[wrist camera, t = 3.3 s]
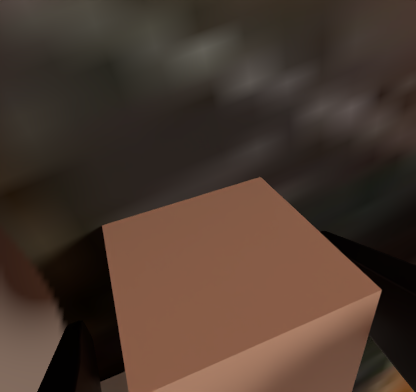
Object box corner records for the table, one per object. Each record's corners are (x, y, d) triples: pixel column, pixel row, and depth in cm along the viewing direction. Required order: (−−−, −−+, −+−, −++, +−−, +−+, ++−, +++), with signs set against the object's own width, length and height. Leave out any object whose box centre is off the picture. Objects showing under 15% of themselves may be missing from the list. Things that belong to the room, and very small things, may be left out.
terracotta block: (259, 175, 10) (382, 289, 6) (261, 280, 13) (347, 405, 9) (101, 223, 9) (130, 401, 5) (141, 327, 12) (180, 494, 8)
